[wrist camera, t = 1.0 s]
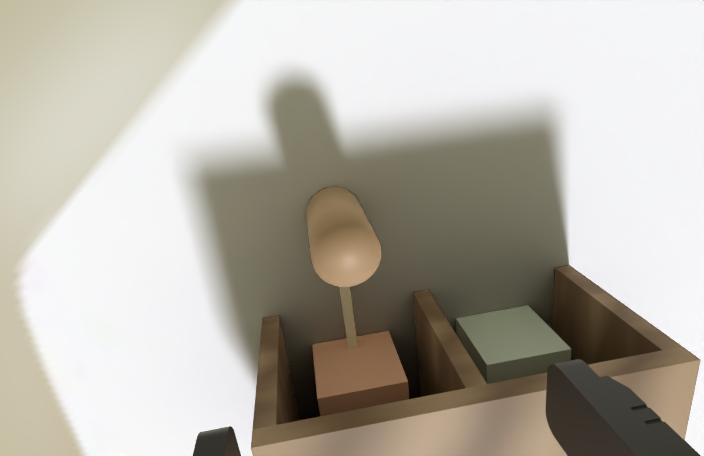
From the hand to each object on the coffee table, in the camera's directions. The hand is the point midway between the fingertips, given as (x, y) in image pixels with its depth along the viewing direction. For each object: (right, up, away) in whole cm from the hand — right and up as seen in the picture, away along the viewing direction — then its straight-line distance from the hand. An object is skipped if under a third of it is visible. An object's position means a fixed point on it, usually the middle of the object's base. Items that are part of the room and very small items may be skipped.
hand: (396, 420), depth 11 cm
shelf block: (+8, -3, +20) cm, 22 cm away
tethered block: (-2, 0, +17) cm, 17 cm away
